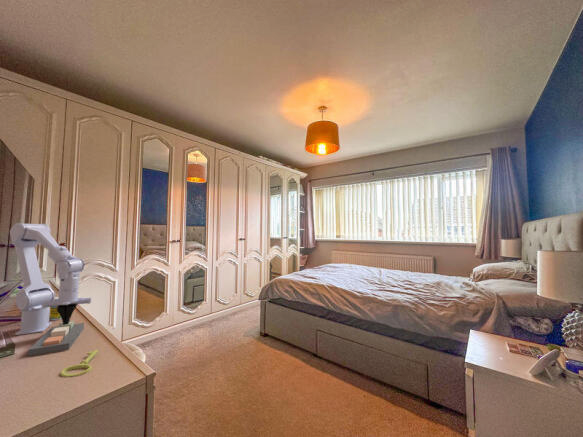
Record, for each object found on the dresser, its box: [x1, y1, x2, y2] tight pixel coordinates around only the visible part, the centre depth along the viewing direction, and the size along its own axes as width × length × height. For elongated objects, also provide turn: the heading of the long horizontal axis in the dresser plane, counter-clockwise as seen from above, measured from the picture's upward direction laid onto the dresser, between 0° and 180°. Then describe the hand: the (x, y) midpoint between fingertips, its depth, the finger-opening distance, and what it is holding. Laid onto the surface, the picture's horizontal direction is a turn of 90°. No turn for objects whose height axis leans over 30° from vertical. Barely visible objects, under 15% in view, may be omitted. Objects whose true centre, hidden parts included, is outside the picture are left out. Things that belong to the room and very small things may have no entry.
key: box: [60, 349, 99, 378], centre depth 73 cm, size 7×12×2 cm, turn 30°
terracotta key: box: [43, 336, 63, 346], centre depth 83 cm, size 4×4×2 cm
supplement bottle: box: [49, 296, 62, 321], centre depth 108 cm, size 5×5×10 cm
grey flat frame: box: [27, 322, 85, 357], centre depth 88 cm, size 20×10×2 cm, turn 30°
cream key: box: [51, 326, 69, 337], centre depth 88 cm, size 4×4×2 cm
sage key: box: [57, 320, 75, 330], centre depth 94 cm, size 4×4×2 cm
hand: (66, 323), depth 94 cm, fingers closed, pressing on sage key
